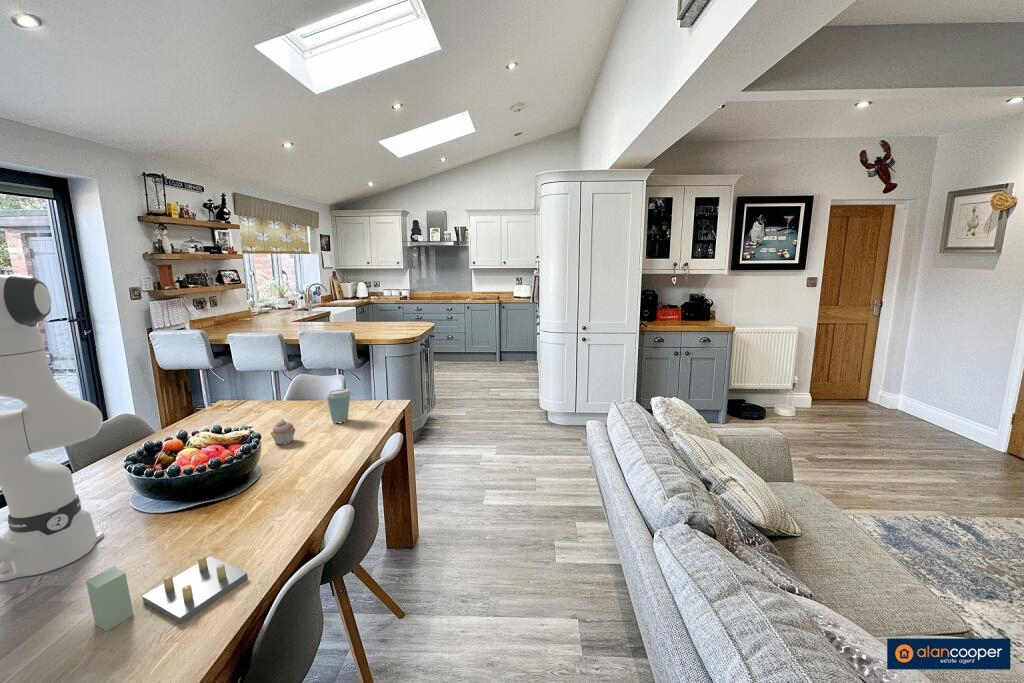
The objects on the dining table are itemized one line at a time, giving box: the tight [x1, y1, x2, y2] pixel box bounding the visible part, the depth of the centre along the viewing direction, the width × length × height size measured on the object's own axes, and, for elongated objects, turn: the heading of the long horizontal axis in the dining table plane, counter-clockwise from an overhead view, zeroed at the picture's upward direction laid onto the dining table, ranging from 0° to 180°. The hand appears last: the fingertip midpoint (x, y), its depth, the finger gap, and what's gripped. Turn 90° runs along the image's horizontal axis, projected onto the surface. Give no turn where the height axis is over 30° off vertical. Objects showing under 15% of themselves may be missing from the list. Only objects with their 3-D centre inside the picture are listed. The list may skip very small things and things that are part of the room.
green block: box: [85, 566, 135, 632], centre depth 87 cm, size 4×4×10 cm
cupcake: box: [270, 418, 297, 445], centre depth 175 cm, size 9×9×10 cm
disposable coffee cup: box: [325, 388, 352, 424], centre depth 197 cm, size 11×11×15 cm
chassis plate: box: [141, 555, 249, 625], centre depth 95 cm, size 14×14×4 cm
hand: (11, 551), depth 74 cm, fingers open, 8 cm apart
